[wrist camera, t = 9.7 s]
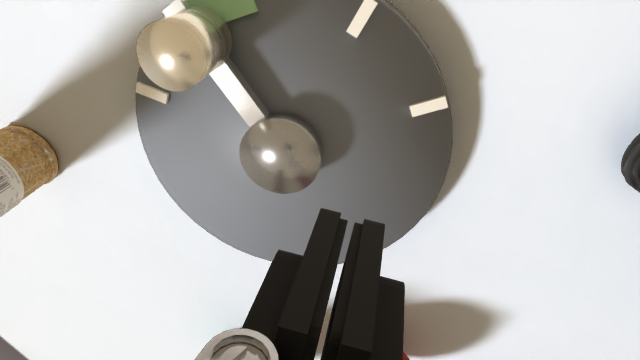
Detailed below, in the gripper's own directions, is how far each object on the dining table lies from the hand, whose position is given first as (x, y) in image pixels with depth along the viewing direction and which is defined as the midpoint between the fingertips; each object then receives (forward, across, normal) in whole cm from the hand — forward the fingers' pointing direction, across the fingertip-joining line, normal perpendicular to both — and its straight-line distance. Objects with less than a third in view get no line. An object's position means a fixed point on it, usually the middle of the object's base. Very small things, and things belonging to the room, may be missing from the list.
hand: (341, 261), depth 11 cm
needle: (+12, +7, +1) cm, 14 cm away
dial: (+14, +4, +3) cm, 15 cm away
